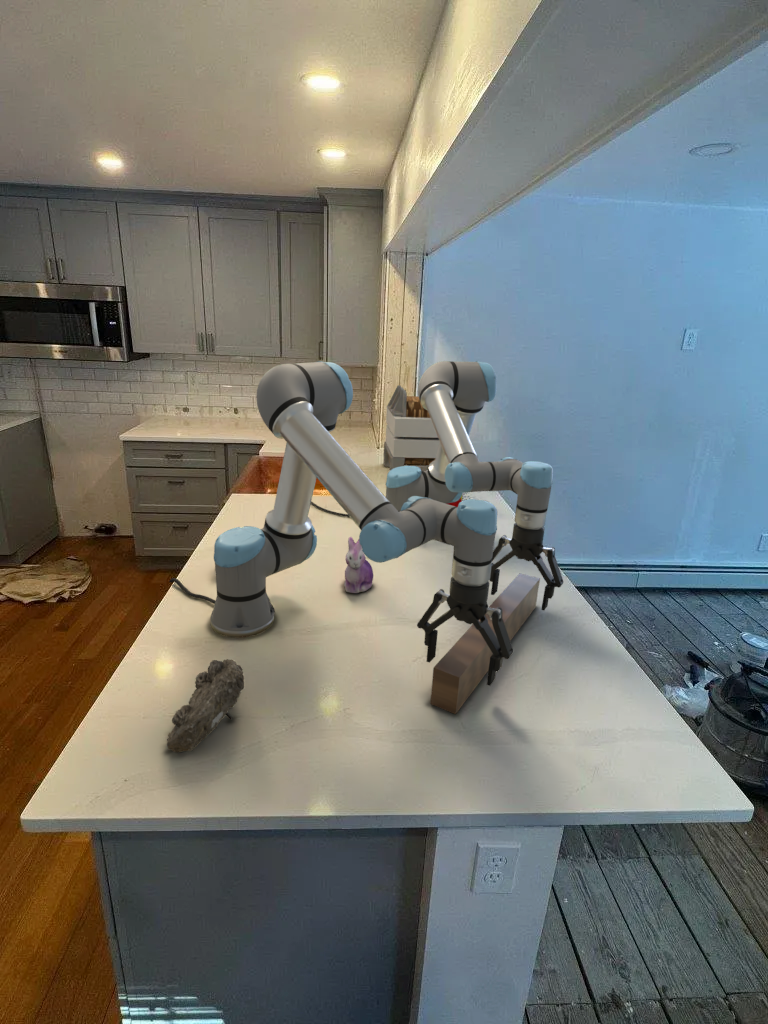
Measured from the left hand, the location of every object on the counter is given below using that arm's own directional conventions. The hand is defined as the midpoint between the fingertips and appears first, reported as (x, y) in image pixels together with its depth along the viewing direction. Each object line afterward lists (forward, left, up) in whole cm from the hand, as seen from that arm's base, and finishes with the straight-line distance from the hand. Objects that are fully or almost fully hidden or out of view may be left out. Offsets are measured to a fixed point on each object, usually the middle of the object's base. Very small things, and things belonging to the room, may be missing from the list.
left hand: (460, 670), depth 118 cm
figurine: (-45, +21, -5) cm, 50 cm away
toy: (-70, +108, -5) cm, 129 cm away
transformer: (-99, +132, -5) cm, 165 cm away
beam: (-2, +18, -5) cm, 19 cm away
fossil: (-32, -38, -5) cm, 50 cm away
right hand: (-4, +37, 0) cm, 37 cm away
